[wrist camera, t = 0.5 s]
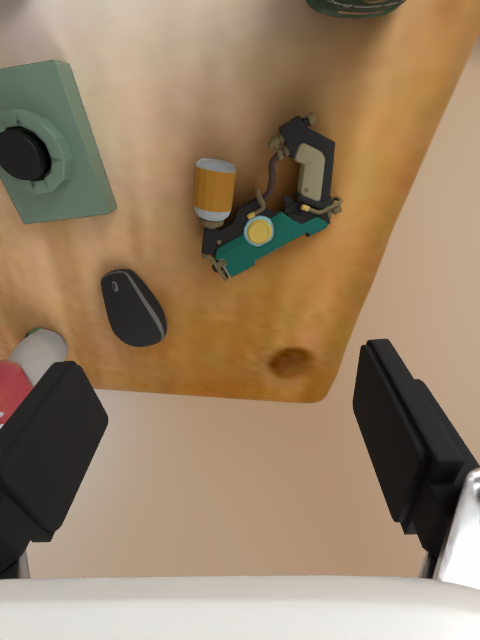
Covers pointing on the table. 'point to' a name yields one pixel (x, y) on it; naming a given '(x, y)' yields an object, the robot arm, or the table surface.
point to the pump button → (23, 155)
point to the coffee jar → (354, 7)
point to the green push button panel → (53, 144)
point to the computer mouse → (132, 309)
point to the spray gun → (253, 218)
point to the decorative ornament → (28, 367)
